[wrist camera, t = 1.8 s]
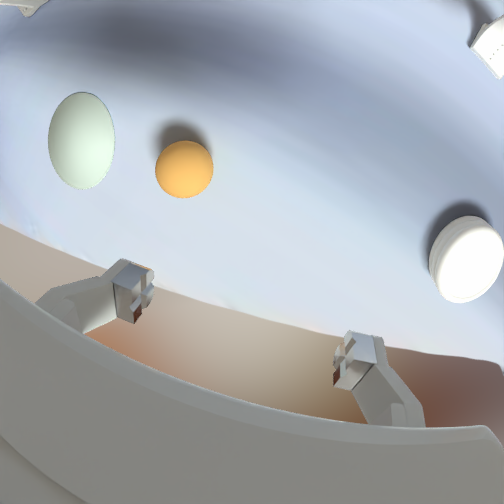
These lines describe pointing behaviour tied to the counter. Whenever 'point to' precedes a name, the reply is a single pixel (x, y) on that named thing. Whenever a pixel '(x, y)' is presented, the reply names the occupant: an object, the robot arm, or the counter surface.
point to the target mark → (81, 140)
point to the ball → (184, 169)
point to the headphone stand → (491, 46)
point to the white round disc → (465, 259)
